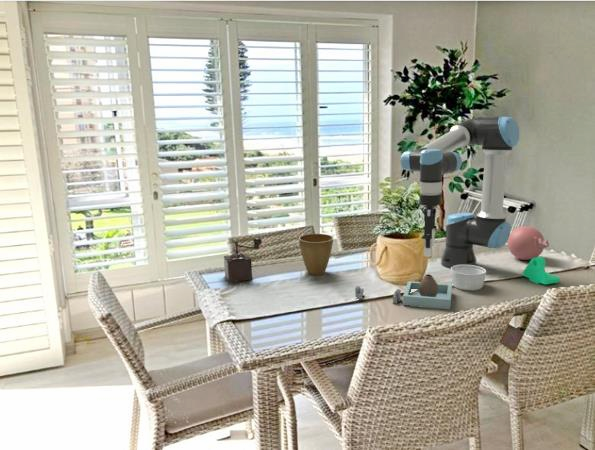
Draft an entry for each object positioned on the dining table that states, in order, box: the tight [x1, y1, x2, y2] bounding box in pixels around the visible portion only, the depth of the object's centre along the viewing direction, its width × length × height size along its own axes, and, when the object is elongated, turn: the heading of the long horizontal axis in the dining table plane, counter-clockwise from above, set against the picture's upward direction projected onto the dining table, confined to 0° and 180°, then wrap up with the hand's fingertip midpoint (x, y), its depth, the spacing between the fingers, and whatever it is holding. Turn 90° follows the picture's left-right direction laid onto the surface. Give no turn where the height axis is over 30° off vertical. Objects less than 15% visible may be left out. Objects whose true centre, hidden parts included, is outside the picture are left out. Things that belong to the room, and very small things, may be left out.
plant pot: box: [298, 233, 334, 276], centre depth 222 cm, size 15×15×16 cm
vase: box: [419, 273, 438, 297], centre depth 188 cm, size 7×7×9 cm
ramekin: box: [450, 265, 487, 291], centre depth 201 cm, size 13×13×7 cm
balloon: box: [507, 225, 550, 261], centre depth 229 cm, size 15×20×15 cm
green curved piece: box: [522, 256, 561, 285], centre depth 203 cm, size 12×8×10 cm, turn 18°
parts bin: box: [402, 280, 453, 310], centre depth 189 cm, size 16×16×4 cm
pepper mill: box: [223, 237, 263, 283], centre depth 219 cm, size 16×11×18 cm
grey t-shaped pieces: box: [354, 285, 402, 305], centre depth 191 cm, size 6×17×4 cm, turn 72°
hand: (429, 251), depth 185 cm, fingers open, 13 cm apart
